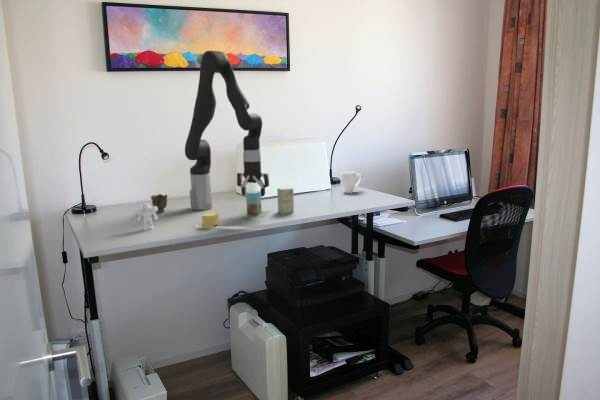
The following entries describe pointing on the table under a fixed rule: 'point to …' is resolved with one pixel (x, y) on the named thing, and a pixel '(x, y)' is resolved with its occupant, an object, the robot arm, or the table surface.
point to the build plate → (254, 215)
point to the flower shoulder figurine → (147, 214)
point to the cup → (159, 202)
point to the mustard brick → (210, 220)
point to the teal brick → (253, 197)
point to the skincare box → (285, 200)
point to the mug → (349, 180)
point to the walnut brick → (254, 209)
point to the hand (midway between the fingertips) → (253, 195)
